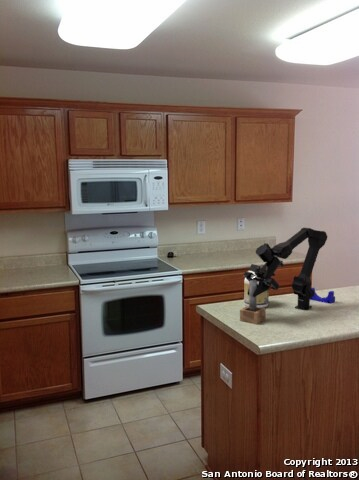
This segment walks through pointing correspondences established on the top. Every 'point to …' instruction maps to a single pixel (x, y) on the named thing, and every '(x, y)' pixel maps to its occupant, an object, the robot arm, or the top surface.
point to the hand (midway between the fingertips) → (250, 295)
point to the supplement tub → (261, 298)
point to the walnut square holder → (252, 315)
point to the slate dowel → (252, 299)
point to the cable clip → (328, 299)
